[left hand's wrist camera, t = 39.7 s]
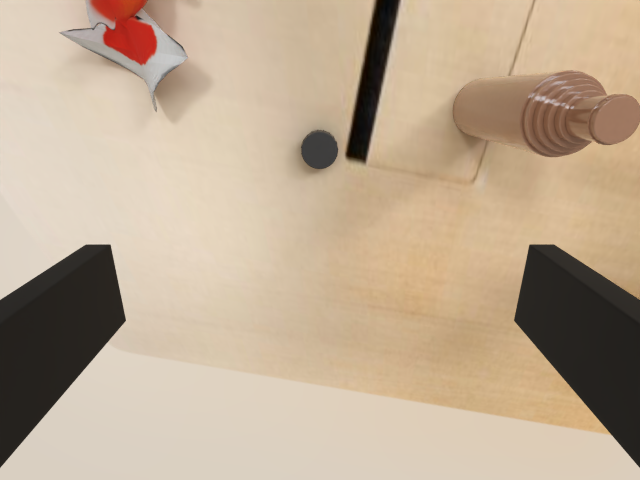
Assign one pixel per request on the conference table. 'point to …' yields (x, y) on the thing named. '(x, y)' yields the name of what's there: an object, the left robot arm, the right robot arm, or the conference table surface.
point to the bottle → (545, 112)
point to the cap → (319, 149)
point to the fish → (129, 40)
